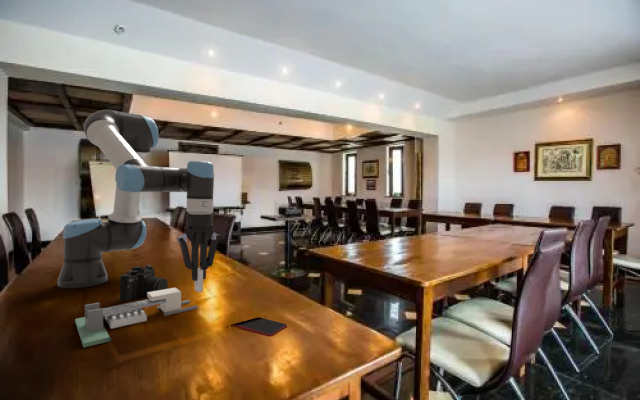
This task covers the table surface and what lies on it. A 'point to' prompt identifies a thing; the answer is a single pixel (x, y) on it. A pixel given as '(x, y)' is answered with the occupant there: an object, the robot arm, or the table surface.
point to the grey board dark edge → (130, 306)
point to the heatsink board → (91, 335)
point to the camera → (140, 283)
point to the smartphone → (261, 326)
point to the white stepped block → (167, 298)
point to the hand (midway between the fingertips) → (198, 290)
